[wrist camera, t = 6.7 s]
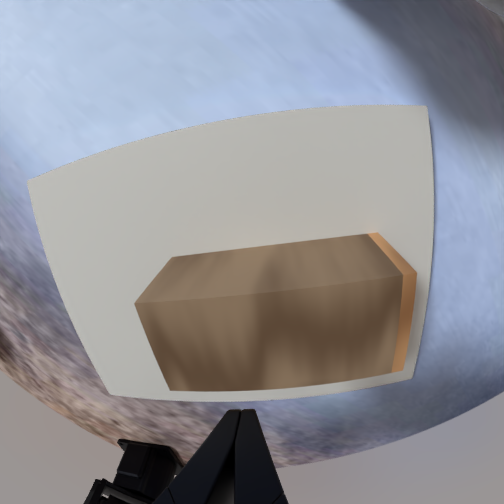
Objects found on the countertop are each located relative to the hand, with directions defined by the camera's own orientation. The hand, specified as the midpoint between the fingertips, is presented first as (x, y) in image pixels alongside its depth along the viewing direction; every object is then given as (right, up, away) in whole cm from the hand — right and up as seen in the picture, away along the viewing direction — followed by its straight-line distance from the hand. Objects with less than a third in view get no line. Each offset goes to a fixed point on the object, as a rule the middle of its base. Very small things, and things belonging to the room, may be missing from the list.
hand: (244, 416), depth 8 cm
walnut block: (-4, +2, +6) cm, 7 cm away
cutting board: (-1, +3, +9) cm, 10 cm away
